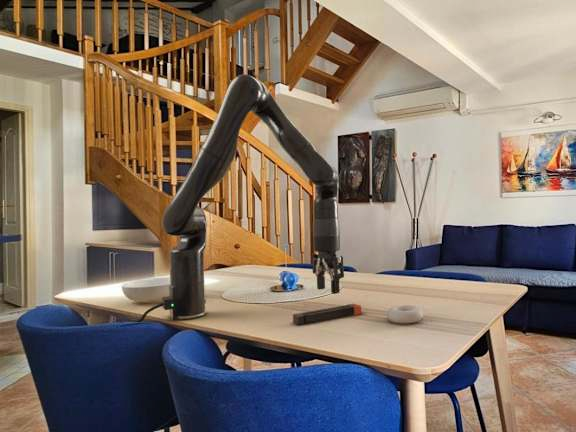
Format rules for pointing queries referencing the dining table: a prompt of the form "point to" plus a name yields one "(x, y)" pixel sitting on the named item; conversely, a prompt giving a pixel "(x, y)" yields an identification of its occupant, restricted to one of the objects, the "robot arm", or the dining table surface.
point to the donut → (404, 314)
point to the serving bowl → (147, 289)
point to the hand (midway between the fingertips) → (328, 291)
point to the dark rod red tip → (326, 314)
